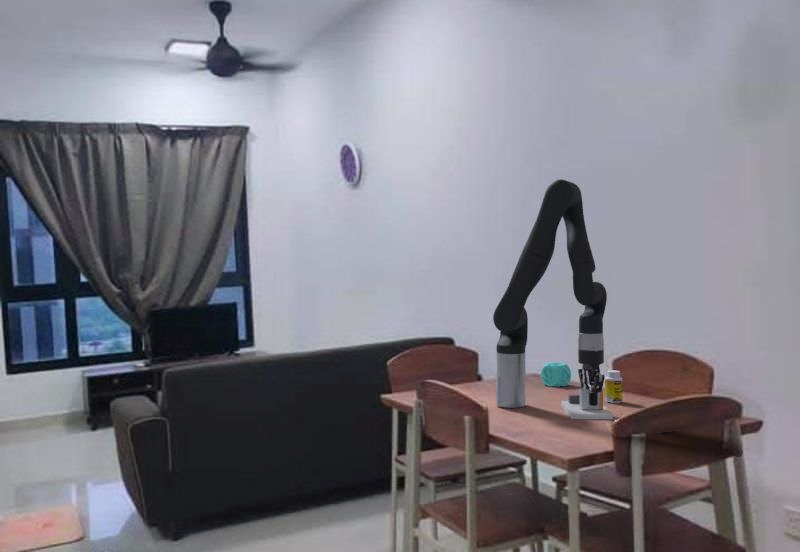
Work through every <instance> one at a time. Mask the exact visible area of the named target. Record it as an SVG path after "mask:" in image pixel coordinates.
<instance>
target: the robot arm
mask: <svg viewBox="0 0 800 552" xmlns="http://www.w3.org/2000/svg"><path fill="white" fill-rule="evenodd" d="M583 204H584V203H583V197H582V191H581V189H580V187H579V186H578V185H577V184H575V183H574V182H572V181H569V180H566V179H556V180H554V181H552V182H551V183H550V184H549V185H548V186H547V188H546V190H545V193H544V195H543V199H542V202H541V206H540V209H539V211H538V215H537V217H536V219H535V222H534V225H533V227H532V228H531V231H530V233H529V236H528V238H527V239H526V243H524V244H525V245H524V246H523V249H522V250H521V254H520V256H519V259H518V261H517V262H516V263H517V264H516V266H515V268H514V271H513V273H512V276H511V278H510V281H509V283H508V286H507V288H506V290H505V292H504V294H503V295H502V297H501V299H500V301H499V303H498V304H497V306H496V307H495V309H494V312H493V318H492V319H493V325H494V326H495V328H496V329H497V330H498V331H500V333H499V334H500V335H499V339H498V341H497V343H496V375H495V383H496V384H495V390H496V391H495V393H496V394H495V400H496V402H495V403H496V406H497V408H511V409H516V408H524V407H525V406H527V405H526V401H527V400H526V397H527V396H526V393H527V392H526V389H527V387H526V346H527V343H528V332H529V331H528V329H529V328H528V327H529V326H528V323H529V321H528V317H529V316H528V313H527V310H526V308H525V305H526V302H527V300H528V299H529V297H530V295H531V293H532V291H533V290H534V289H535V288H536V286H537V285H538V283H539V282H540V281H541V279H542V278H543V277H544V275H545V273H546V271H547V269H548V266H549V265H550V262H551V260H552V258H553V254H554V251H555V247H556V246H555V245H556V237H557V230H558V227H559V225H560V222H561V220H562V219H563V221H564V225H565V231H566V232H565V233H566V250H567V256H568V259H569V263H570V267H571V270H572V289H573V294H574V298H575V299H576V301H577V302H578V303H579V304H580V305H581V306H584V312H583V313H581V314H580V315H579V320H578V332H579V333H578V339H577V343H578V344H577V345H578V347H577V350H578V353H577V356H578V358H577V360H578V361H577V362H578V363H579V364H581V365H582V368H578V369H577V371H578V378H579V384H580V389H582V388H590V405H591V406H597V404H598V393H599V392H602V389H603V386H604V384H605V377H606V375H605V374H601V369H600V365H602V364H604V363H605V354H604V353H605V349H604V348H605V338H604V321H603V320H604V315H605V310H606V305H607V302H608V301H607V299H608V295H607V290H606V287H605V286H604V285H603V284H602V283H601V282H599V281H594V279H593V278H594V277H593V273H595V271H596V263H595V259H594V256H593V252H592V249H591V248H592V247H591V245H590V242H589V237H588V233H587V228H586V221H585V217H584V216H585V215H584V214H585V213H584V205H583Z"/></svg>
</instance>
